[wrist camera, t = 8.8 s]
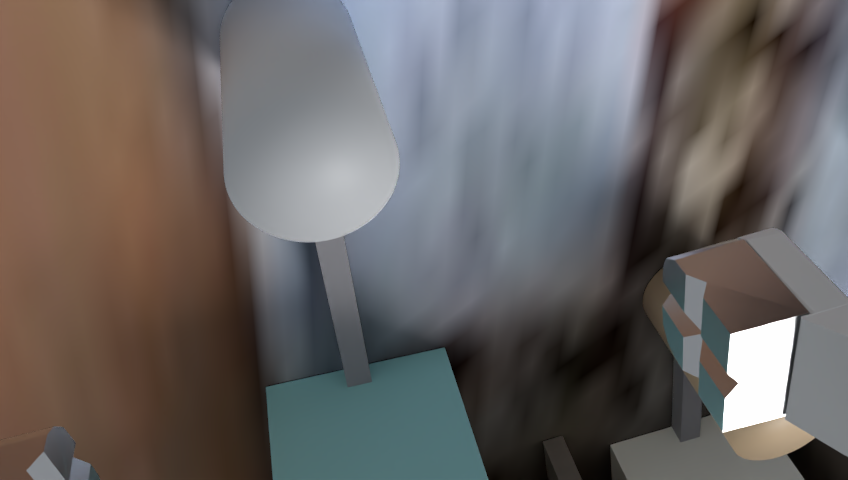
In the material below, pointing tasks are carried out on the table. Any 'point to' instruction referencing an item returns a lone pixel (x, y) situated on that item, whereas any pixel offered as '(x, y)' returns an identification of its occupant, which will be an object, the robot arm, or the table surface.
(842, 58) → the table surface
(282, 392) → the ball-top joystick
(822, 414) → the robot arm
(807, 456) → the divided storage tray
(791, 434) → the cylinder on stand
